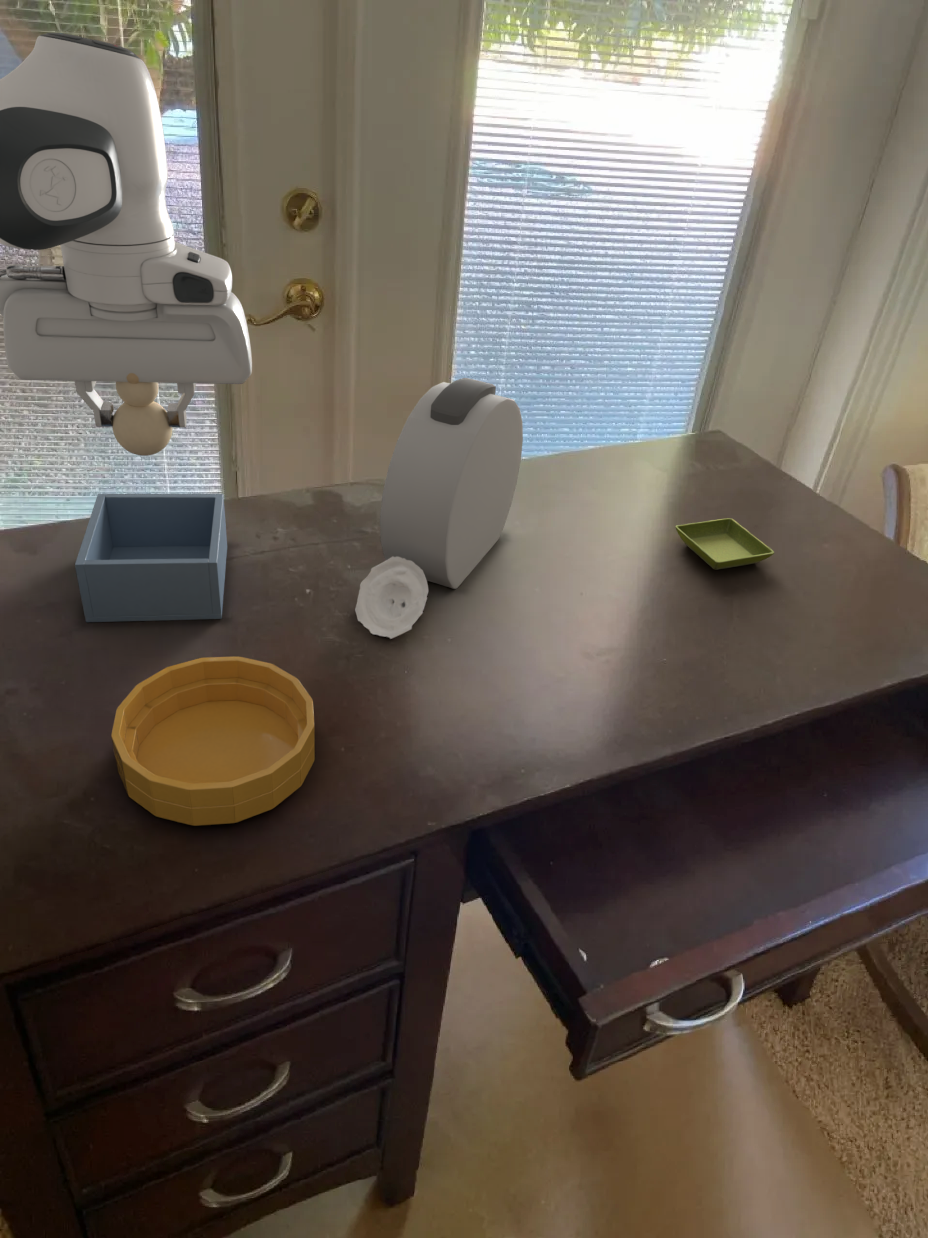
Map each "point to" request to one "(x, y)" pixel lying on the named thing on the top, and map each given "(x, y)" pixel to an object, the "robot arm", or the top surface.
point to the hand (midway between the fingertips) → (142, 424)
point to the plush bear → (140, 418)
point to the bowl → (214, 740)
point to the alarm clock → (452, 479)
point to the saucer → (723, 543)
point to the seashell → (392, 597)
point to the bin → (153, 558)
